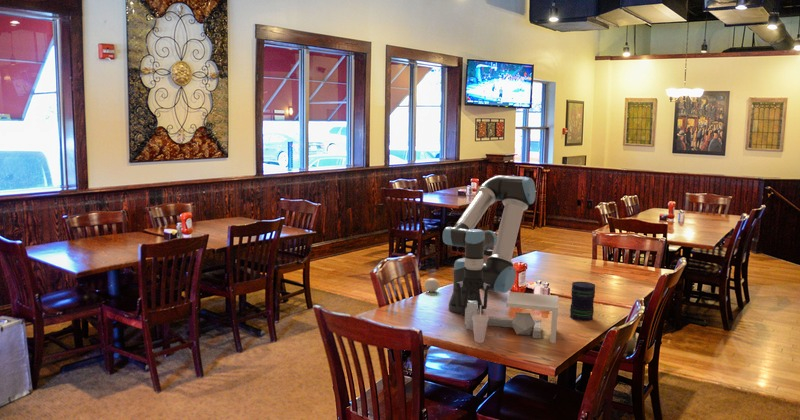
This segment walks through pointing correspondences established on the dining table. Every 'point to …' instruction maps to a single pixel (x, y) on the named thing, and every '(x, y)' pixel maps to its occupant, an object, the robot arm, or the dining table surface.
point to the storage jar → (582, 301)
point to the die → (523, 323)
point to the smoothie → (479, 327)
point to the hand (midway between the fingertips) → (471, 324)
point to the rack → (536, 306)
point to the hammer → (496, 320)
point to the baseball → (431, 284)
